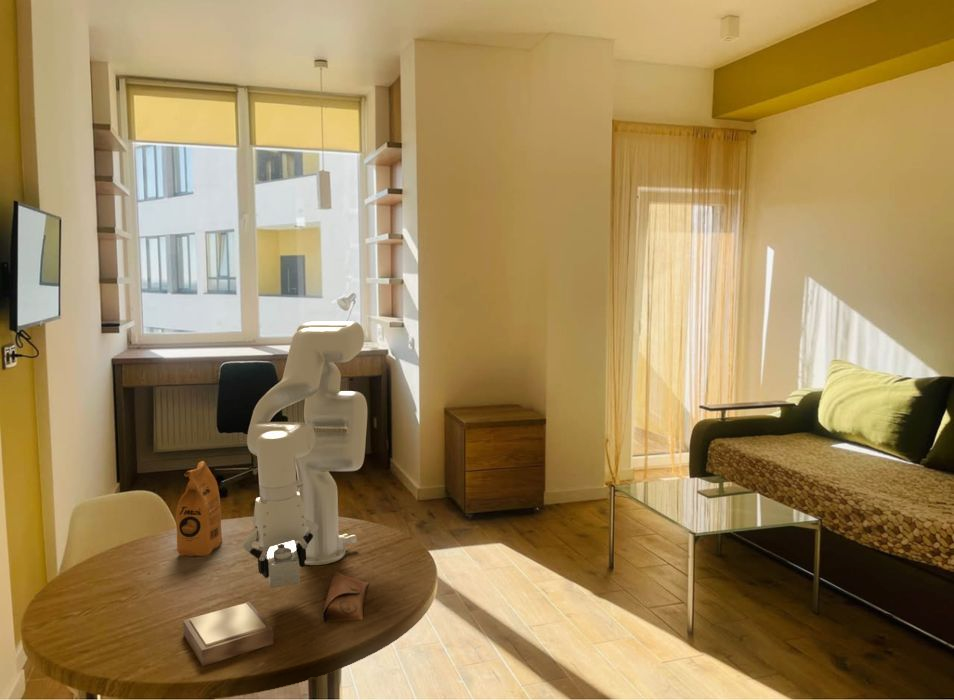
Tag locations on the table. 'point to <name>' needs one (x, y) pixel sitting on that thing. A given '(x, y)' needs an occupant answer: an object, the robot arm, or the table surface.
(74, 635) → the table surface
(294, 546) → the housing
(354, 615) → the sunglasses case
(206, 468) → the coffee package
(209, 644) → the stand
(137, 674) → the table surface
